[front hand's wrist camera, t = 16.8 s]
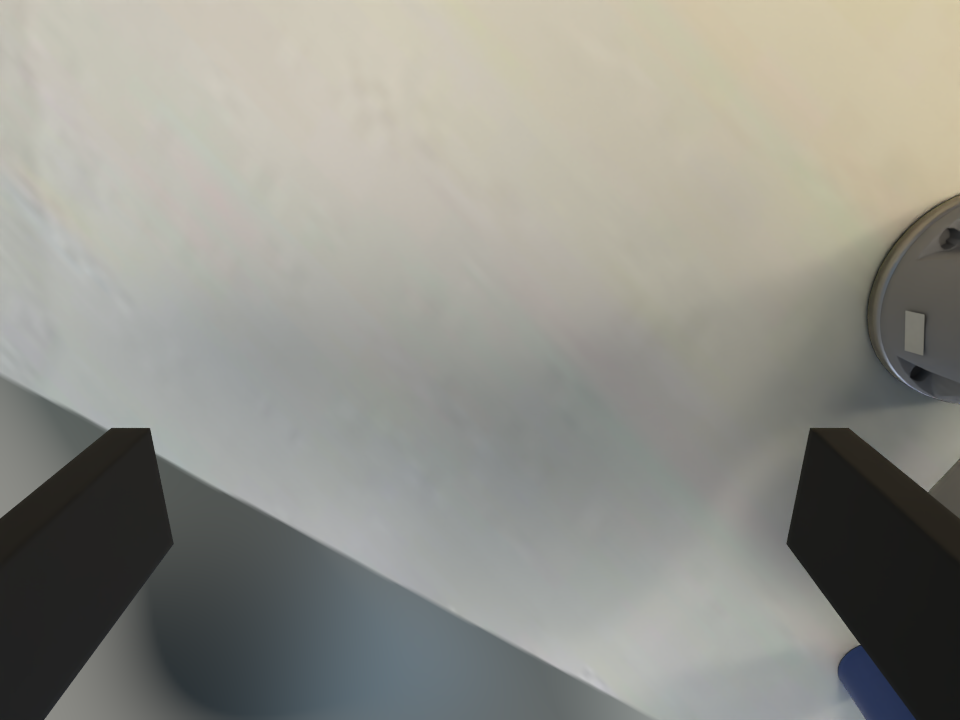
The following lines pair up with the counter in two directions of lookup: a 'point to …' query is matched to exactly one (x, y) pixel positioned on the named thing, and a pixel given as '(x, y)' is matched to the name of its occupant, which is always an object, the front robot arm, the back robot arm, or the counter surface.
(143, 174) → the counter surface
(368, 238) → the counter surface
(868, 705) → the can
